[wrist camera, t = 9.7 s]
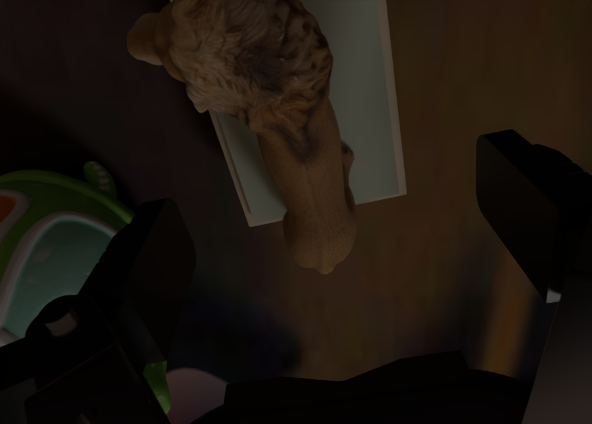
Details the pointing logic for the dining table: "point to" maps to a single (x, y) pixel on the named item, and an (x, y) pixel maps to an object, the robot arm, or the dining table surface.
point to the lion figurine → (267, 104)
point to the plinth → (348, 110)
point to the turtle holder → (57, 246)
